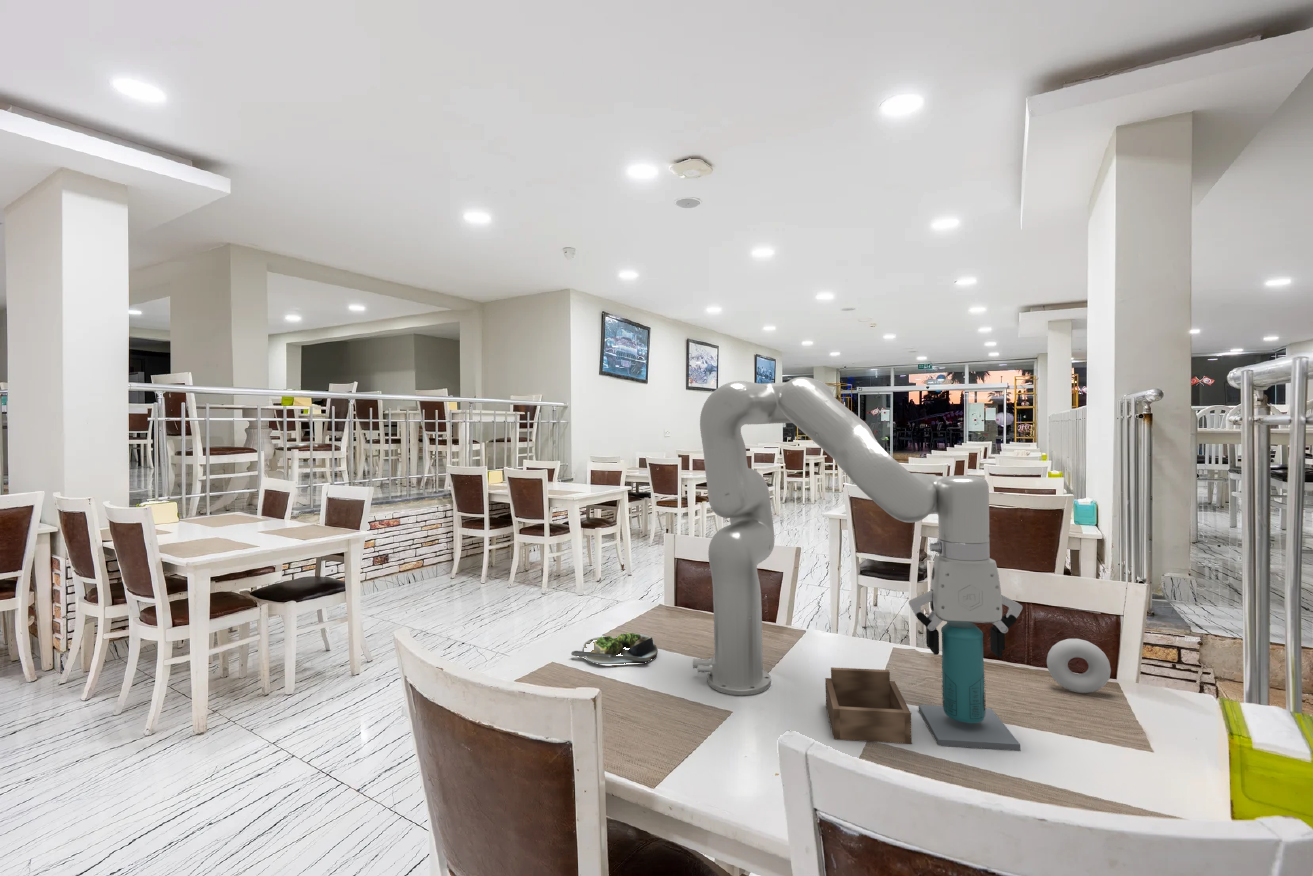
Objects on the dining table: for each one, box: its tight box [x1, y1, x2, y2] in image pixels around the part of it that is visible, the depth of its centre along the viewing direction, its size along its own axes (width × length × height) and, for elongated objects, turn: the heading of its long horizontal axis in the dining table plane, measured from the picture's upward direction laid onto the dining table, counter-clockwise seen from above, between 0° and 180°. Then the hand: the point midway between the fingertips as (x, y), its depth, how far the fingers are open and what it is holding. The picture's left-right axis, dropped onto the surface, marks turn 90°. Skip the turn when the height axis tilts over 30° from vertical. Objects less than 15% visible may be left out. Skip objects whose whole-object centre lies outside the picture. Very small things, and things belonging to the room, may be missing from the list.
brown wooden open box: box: [824, 666, 912, 745], centre depth 103 cm, size 12×12×7 cm
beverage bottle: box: [940, 622, 987, 723], centre depth 100 cm, size 6×7×20 cm
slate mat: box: [917, 704, 1021, 752], centre depth 101 cm, size 12×12×1 cm
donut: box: [1046, 638, 1112, 694], centre depth 113 cm, size 10×4×10 cm, turn 65°
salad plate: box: [571, 632, 659, 664], centre depth 137 cm, size 19×18×5 cm
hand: (965, 653), depth 100 cm, fingers open, 9 cm apart
